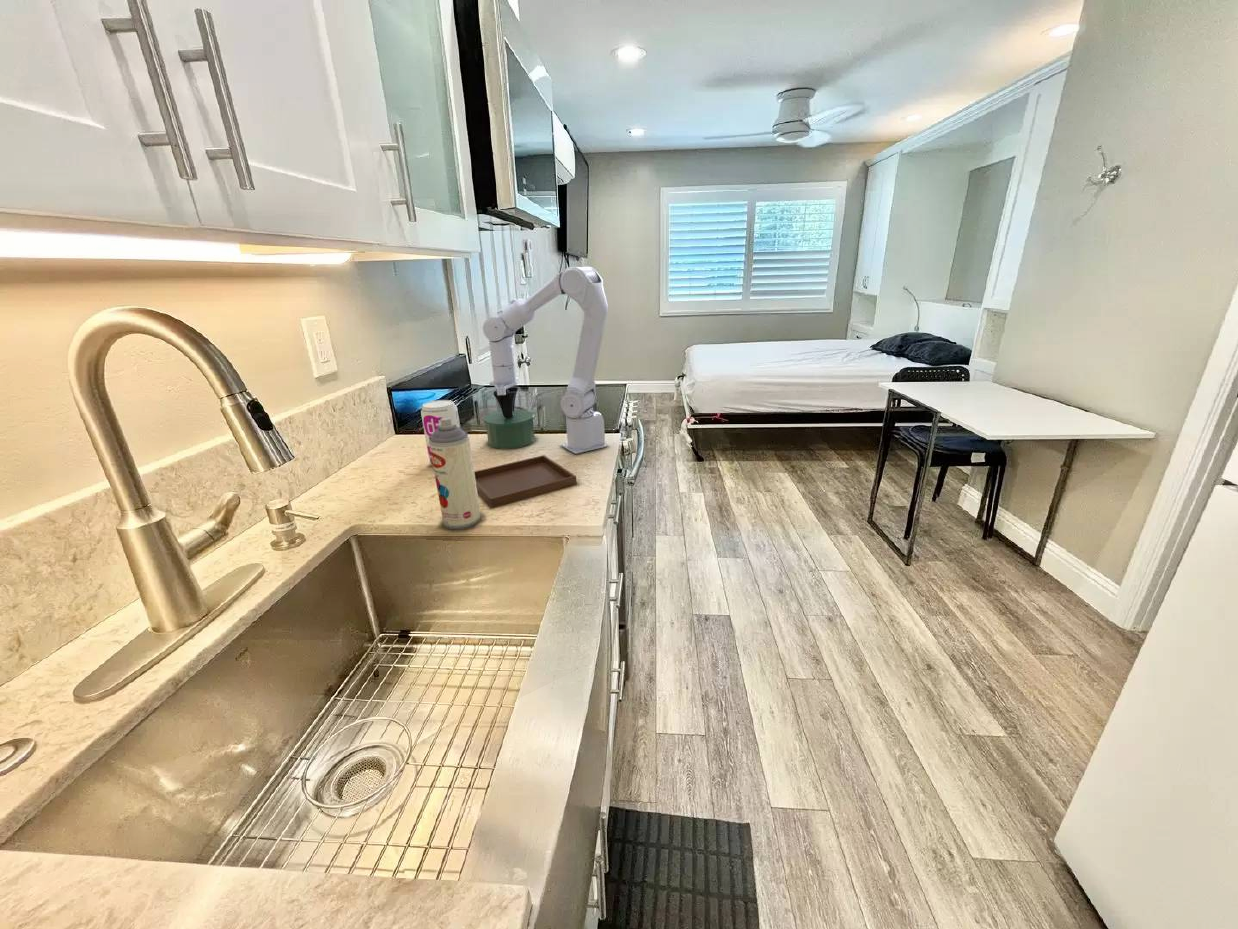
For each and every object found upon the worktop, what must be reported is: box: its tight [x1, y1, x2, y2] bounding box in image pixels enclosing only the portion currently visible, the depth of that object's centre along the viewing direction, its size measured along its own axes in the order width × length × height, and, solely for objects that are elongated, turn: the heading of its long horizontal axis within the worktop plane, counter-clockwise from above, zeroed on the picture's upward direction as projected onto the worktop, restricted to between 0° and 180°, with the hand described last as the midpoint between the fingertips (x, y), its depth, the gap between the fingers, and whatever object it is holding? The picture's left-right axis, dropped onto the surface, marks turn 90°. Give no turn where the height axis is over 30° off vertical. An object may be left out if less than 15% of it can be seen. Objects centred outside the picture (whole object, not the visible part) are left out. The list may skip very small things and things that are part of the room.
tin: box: [485, 419, 536, 450], centre depth 134 cm, size 12×12×6 cm
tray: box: [474, 454, 578, 508], centre depth 108 cm, size 19×16×2 cm
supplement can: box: [420, 399, 461, 466], centre depth 118 cm, size 8×8×15 cm
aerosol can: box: [429, 417, 482, 530], centre depth 89 cm, size 7×7×20 cm
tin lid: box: [483, 409, 535, 426], centre depth 132 cm, size 13×13×4 cm
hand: (509, 415), depth 132 cm, fingers closed on tin lid, 2 cm apart
